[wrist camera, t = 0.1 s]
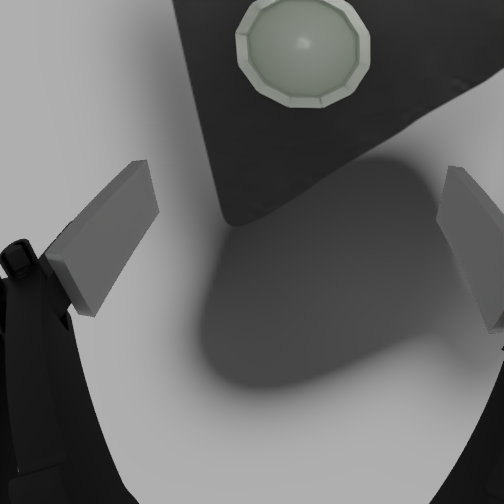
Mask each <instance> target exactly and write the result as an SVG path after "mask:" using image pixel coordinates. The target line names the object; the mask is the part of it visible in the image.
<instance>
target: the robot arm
mask: <svg viewBox="0 0 504 504" xmlns="http://www.w3.org/2000/svg"><path fill="white" fill-rule="evenodd" d="M158 213H159V209H158V205H157V201H156V197H155V193H154V189H153V184H152V180H151V176H150V171H149V167H148V163H147V160H140V161H132V162H131V163H130V164H129V165H128V166H127V167H126V168H125V169H123V170H122V171H121V172H120V173H119V174H118V175H117V176H116V177H115V178H114V179H113V180H112V181H111V182H110V183H109V184H108V185H107V186H106V187H105V188H104V189H103V190H102V191H101V192H100V193H99V194H98V195H97V196H96V197H95V198H94V199H93V200H92V201H91V202H90V203H89V204H88V205H87V206H86V207H85V208H84V209H83V210H82V211H81V213H80V214H79V215H78V216H77V217H76V218H75V219H74V220H73V221H71V222H70V223H69V224H68V225H67V226H66V227H65V229H64V230H63V231H62V232H61V233H60V234H59V235H58V236H57V239H55V240H54V241H53V242H52V243H51V244H50V246H49V247H48V248H47V249H46V250H45V251H44V253H43V254H42V255H41V256H40V258H39V259H37V256H36V255H35V253H34V251H33V249H32V247H31V245H30V243H29V240H27V239H20V240H17V241H15V242H13V243H11V244H10V245H8V247H6V248H5V249H4V250H3V251H2V252H1V254H0V264H1V266H2V267H3V269H4V271H5V272H6V274H7V276H8V278H4V279H1V277H0V504H139V503H138V502H137V500H136V499H135V498H134V497H133V496H132V494H131V493H130V492H129V491H128V490H127V489H126V487H125V486H124V484H123V482H122V480H121V478H120V475H119V473H118V471H117V469H116V466H115V464H114V462H113V459H112V457H111V454H110V452H109V449H108V447H107V444H106V441H105V439H104V436H103V433H102V430H101V428H100V425H99V422H98V419H97V416H96V413H95V410H94V407H93V403H92V400H91V397H90V394H89V390H88V387H87V383H86V380H85V376H84V372H83V368H82V365H81V361H80V357H79V352H78V348H77V344H76V339H75V335H74V329H73V325H72V320H71V316H70V314H69V312H68V311H67V309H68V307H69V306H70V304H71V303H72V304H73V306H74V308H75V309H76V311H77V313H78V314H79V315H85V316H91V317H95V316H96V314H97V312H98V310H99V309H100V307H101V305H102V303H103V302H104V299H105V298H106V296H107V295H108V293H109V291H110V289H111V288H112V286H113V284H114V283H115V281H116V279H117V278H118V276H119V274H120V273H121V271H122V269H123V268H124V266H125V265H126V263H127V261H128V260H129V258H130V257H131V255H132V253H133V251H134V250H135V248H136V247H137V245H138V244H139V242H140V241H141V239H142V238H143V236H144V234H145V233H146V231H147V230H148V228H149V227H150V225H151V224H152V222H153V221H154V219H155V218H156V216H157V215H158ZM436 221H437V222H438V224H439V226H440V228H441V230H442V231H443V233H444V235H445V237H446V239H447V241H448V243H449V245H450V247H451V249H452V250H453V252H454V254H455V256H456V258H457V260H458V262H459V265H460V266H461V268H462V271H463V273H464V275H465V277H466V279H467V282H468V284H469V286H470V288H471V291H472V293H473V295H474V297H475V300H476V302H477V304H478V307H479V309H480V312H481V314H482V317H483V319H484V322H485V325H486V327H487V330H488V333H489V334H492V333H502V332H504V214H503V213H502V212H501V211H500V209H499V208H498V207H497V206H496V204H495V203H494V202H493V201H492V200H491V199H490V197H489V196H488V195H487V194H486V193H485V191H484V190H483V189H482V188H481V187H480V186H479V185H478V184H477V183H476V181H475V180H474V179H473V178H472V177H471V176H470V175H469V174H468V173H467V172H466V171H465V169H464V168H462V167H455V166H448V171H447V176H446V180H445V185H444V189H443V193H442V198H441V201H440V205H439V209H438V214H437V217H436ZM502 350H503V351H504V346H503V348H502ZM429 504H504V361H503V364H502V367H501V370H500V372H499V375H498V378H497V380H496V383H495V386H494V388H493V390H492V392H491V395H490V397H489V400H488V402H487V404H486V407H485V409H484V411H483V413H482V415H481V417H480V419H479V421H478V423H477V425H476V428H475V429H474V431H473V433H472V435H471V437H470V439H469V441H468V443H467V445H466V446H465V448H464V450H463V452H462V454H461V455H460V457H459V459H458V461H457V462H456V464H455V466H454V467H453V469H452V470H451V472H450V474H449V475H448V477H447V478H446V480H445V482H444V483H443V485H442V486H441V487H440V489H439V490H438V492H437V493H436V495H435V496H434V498H433V499H432V501H431V502H430V503H429Z"/></svg>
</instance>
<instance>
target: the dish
mask: <svg viewBox="0 0 504 504" xmlns="http://www.w3.org/2000/svg"><path fill="white" fill-rule="evenodd" d="M350 5H351V4H349V3H347V2H345V1H344V0H257V1H255V2H253V3H252V5H250V6H249V8H248V10H247V12H246V14H245V15H244V17H243V19H242V21H241V23H240V25H239V26H238V28H237V30H236V33H235V37H236V49H237V60H238V64H240V65H238V66H239V67H240V68H241V70H242V71H243V72H244V74H245V75H246V77H247V78H248V79H249V81H250V82H251V84H252V85H253V86H254V88H255V89H256V91H258V90H259V91H258V92H259V93H261V94H263V95H265V96H267V97H269V98H271V99H273V100H275V101H277V102H279V103H281V104H283V105H284V106H286V107H288V106H289V108H322V106H323V108H324V107H326V106H328V105H330V104H332V103H334V102H336V101H338V100H340V99H342V98H344V97H346V96H349V95H351V94H352V93H353V92H354V91H355V89H356V88H357V86H358V85H359V83H360V81H361V80H362V78H363V77H364V75H365V74H366V72H367V71H368V69H369V68H370V67H368V66H370V35H368V34H369V32H368V30H367V29H366V27H365V25H364V24H363V22H362V20H361V19H360V17H359V16H358V14H357V13H356V11H355V10H354V8H353V7H352V6H350ZM349 6H350V7H349ZM351 92H352V93H351Z"/></svg>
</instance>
